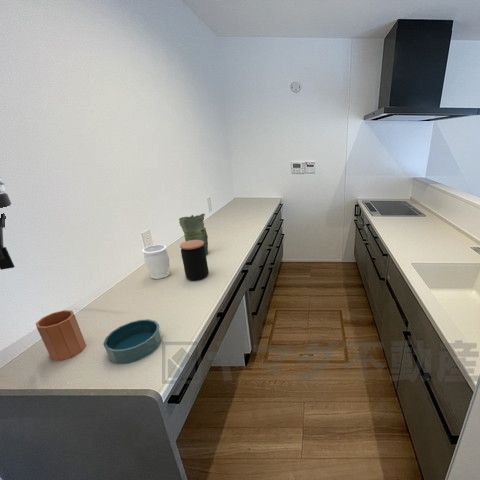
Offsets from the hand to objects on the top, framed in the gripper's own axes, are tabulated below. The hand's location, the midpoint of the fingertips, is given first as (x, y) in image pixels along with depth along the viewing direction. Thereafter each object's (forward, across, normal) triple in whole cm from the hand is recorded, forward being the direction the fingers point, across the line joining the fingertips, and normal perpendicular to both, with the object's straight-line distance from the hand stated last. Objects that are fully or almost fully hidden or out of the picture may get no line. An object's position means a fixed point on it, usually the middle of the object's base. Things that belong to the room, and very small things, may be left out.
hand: (16, 259), depth 84 cm
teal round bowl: (+29, -25, -27) cm, 47 cm away
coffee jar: (+29, +17, -52) cm, 62 cm away
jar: (+29, +28, -36) cm, 54 cm away
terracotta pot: (+29, -16, -8) cm, 34 cm away
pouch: (+29, +45, -57) cm, 78 cm away
